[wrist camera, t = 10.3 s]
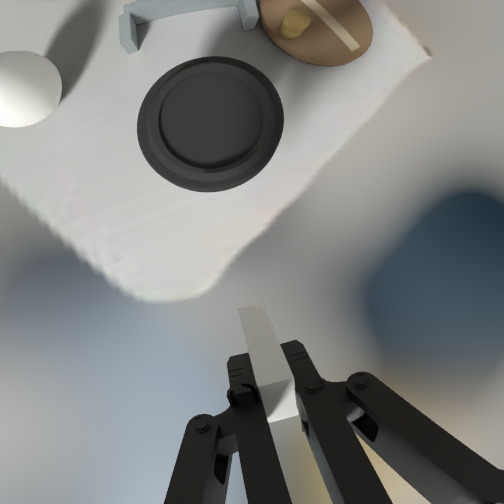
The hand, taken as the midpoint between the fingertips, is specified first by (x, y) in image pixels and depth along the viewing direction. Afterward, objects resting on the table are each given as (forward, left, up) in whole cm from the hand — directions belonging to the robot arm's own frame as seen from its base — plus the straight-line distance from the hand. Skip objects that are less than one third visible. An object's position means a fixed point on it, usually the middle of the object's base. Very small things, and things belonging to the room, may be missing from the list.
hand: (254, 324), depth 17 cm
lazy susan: (-26, +15, -16) cm, 34 cm away
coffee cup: (-12, 0, -16) cm, 20 cm away
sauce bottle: (-23, -18, -16) cm, 34 cm away
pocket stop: (-28, 0, -16) cm, 32 cm away
